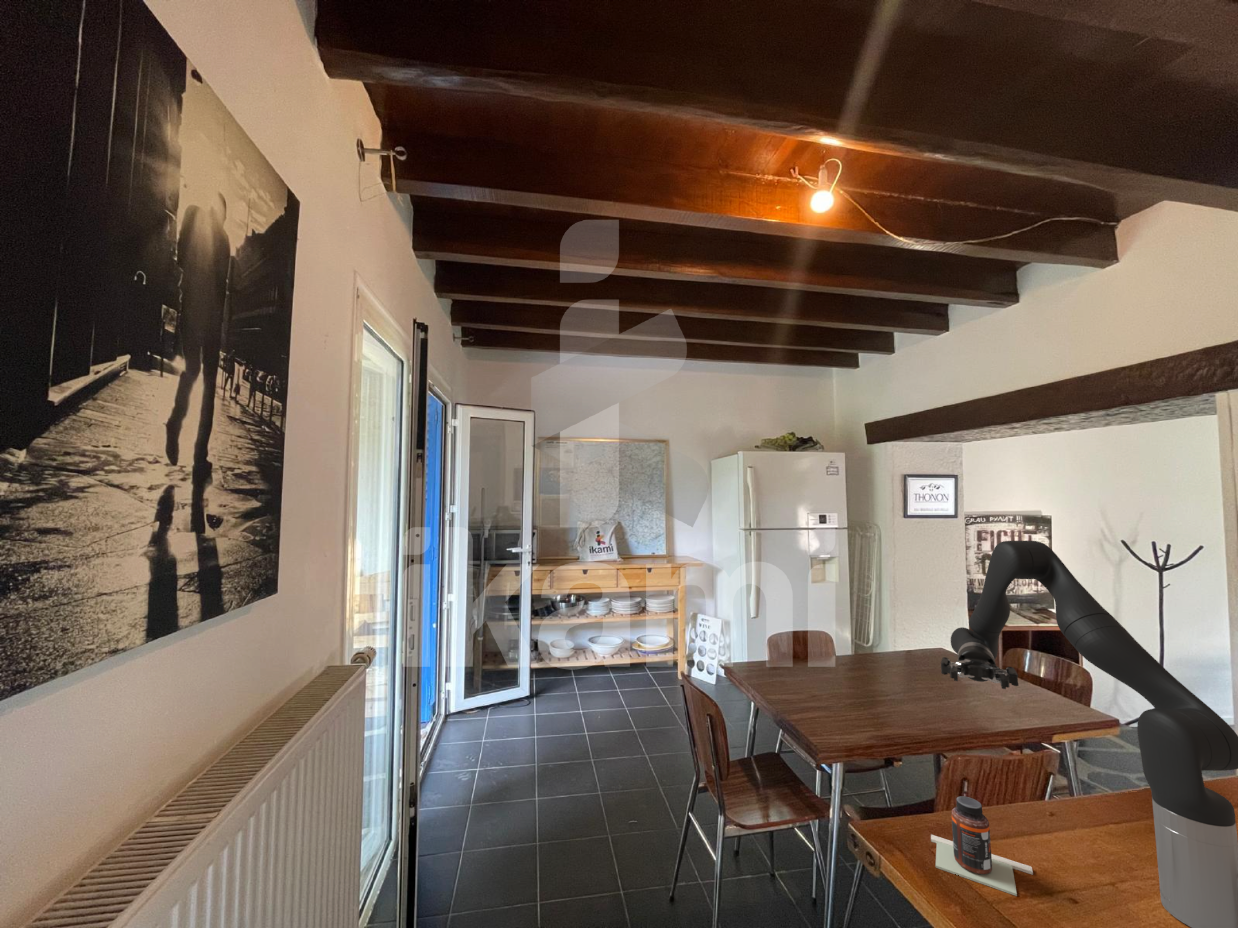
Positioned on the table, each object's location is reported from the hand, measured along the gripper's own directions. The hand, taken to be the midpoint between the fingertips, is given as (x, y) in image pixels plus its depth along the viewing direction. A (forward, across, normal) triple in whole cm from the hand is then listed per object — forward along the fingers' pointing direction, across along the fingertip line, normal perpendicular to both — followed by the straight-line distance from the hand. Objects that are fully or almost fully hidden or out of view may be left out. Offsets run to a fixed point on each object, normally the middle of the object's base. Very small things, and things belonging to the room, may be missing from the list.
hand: (979, 680), depth 107 cm
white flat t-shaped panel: (+16, -2, +30) cm, 34 cm away
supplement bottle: (+17, -3, +30) cm, 35 cm away
